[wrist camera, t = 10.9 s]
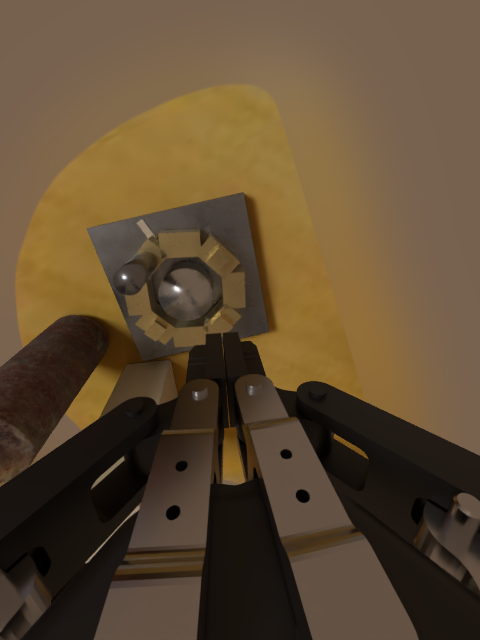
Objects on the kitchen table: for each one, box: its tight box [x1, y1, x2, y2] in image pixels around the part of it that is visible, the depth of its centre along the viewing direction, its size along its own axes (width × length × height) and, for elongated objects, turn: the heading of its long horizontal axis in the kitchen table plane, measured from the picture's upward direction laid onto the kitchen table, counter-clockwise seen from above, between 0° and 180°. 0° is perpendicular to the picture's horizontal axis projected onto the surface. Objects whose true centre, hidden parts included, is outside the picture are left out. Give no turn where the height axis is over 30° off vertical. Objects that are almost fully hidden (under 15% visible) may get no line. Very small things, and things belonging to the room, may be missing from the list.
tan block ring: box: [113, 229, 246, 347], centre depth 30 cm, size 14×14×10 cm
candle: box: [0, 315, 109, 483], centre depth 29 cm, size 8×7×20 cm
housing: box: [87, 192, 269, 361], centre depth 34 cm, size 18×18×6 cm
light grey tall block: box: [85, 360, 178, 563], centre depth 33 cm, size 8×7×21 cm
